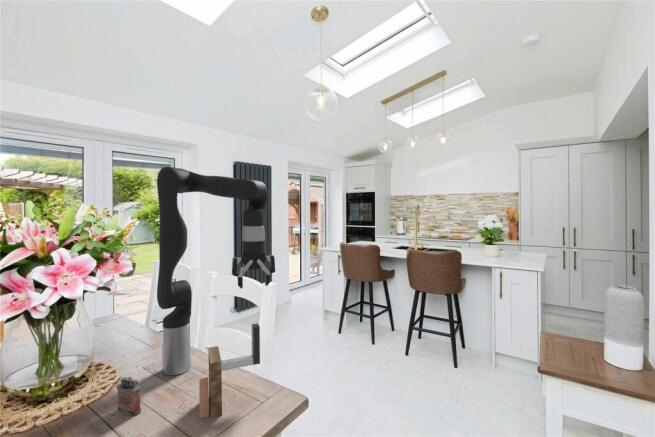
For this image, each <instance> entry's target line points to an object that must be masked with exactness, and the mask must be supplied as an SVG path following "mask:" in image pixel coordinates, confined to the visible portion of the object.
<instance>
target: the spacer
mask: <svg viewBox="0 0 655 437" xmlns="http://www.w3.org/2000/svg"><path fill="white" fill-rule="evenodd" d="M198 380H199V383H198V384H199V386H198V391H199V392H198V396H199V397H198V400H199V419H201V418H205V417H208V416H210V400H209V376H207V377H203V378H199V379H198Z"/></svg>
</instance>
